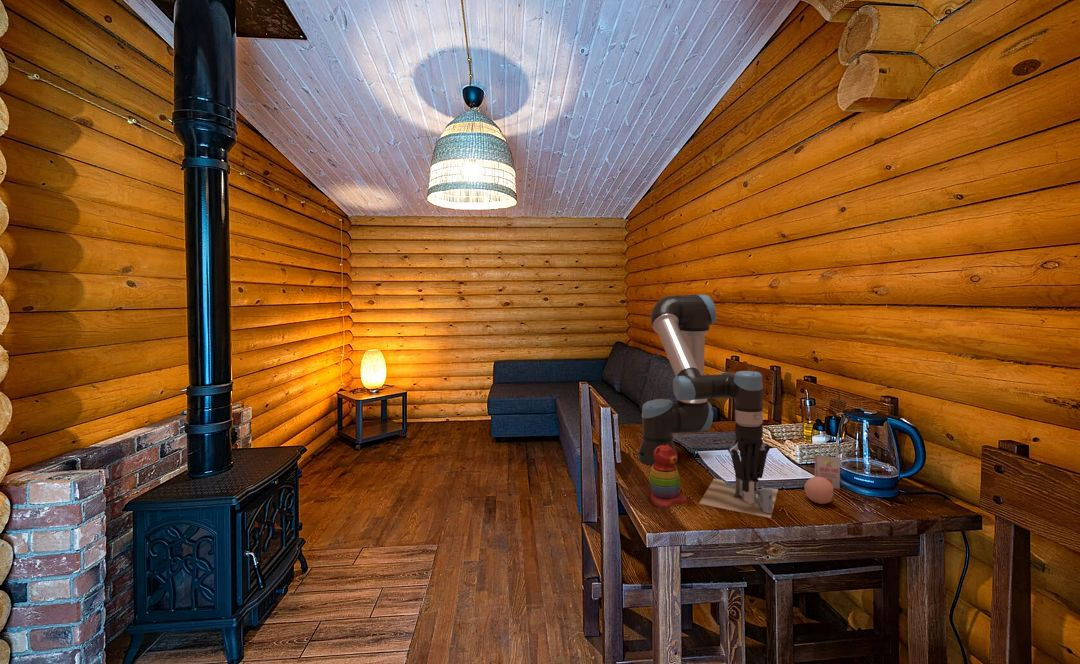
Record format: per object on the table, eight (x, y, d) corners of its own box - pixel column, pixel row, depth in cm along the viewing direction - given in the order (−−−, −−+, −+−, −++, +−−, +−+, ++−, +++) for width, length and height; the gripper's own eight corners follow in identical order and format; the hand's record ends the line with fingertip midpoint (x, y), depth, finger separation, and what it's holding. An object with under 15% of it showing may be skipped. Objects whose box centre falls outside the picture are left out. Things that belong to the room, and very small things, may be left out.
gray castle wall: (738, 497, 145) (738, 476, 145) (743, 496, 146) (743, 475, 145) (767, 513, 134) (767, 490, 134) (772, 512, 135) (772, 489, 134)
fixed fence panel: (740, 483, 157) (740, 459, 157) (746, 483, 156) (746, 460, 156) (734, 496, 147) (734, 472, 146) (740, 497, 146) (740, 473, 145)
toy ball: (840, 506, 139) (841, 481, 138) (818, 510, 138) (818, 484, 137) (819, 495, 147) (819, 471, 146) (798, 498, 145) (798, 474, 145)
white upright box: (814, 482, 157) (814, 453, 156) (838, 485, 154) (838, 456, 153) (815, 486, 154) (815, 457, 153) (839, 489, 151) (840, 459, 150)
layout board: (713, 480, 162) (713, 478, 162) (778, 491, 151) (778, 489, 151) (698, 505, 143) (698, 503, 143) (770, 519, 133) (770, 517, 133)
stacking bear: (663, 511, 140) (663, 453, 139) (642, 498, 149) (640, 444, 148) (690, 502, 145) (689, 447, 144) (667, 491, 154) (666, 438, 153)
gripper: (737, 428, 133) (738, 509, 134) (776, 424, 135) (776, 503, 137) (721, 422, 140) (722, 499, 141) (759, 419, 143) (759, 494, 144)
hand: (749, 501), depth 139 cm, fingers closed
